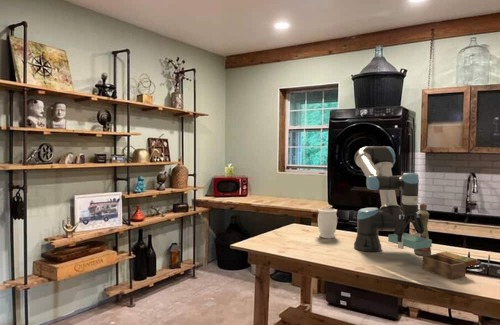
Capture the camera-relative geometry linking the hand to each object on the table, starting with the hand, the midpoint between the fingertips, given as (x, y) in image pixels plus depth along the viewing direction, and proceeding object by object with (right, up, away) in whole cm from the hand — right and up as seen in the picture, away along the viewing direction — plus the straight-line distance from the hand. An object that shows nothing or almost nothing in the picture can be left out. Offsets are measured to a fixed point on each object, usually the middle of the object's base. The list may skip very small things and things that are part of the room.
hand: (409, 247), depth 182 cm
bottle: (+15, -8, +16) cm, 23 cm away
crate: (+9, -9, -16) cm, 20 cm away
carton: (+23, -9, 0) cm, 25 cm away
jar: (-30, -6, +56) cm, 63 cm away
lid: (0, +1, 0) cm, 1 cm away
